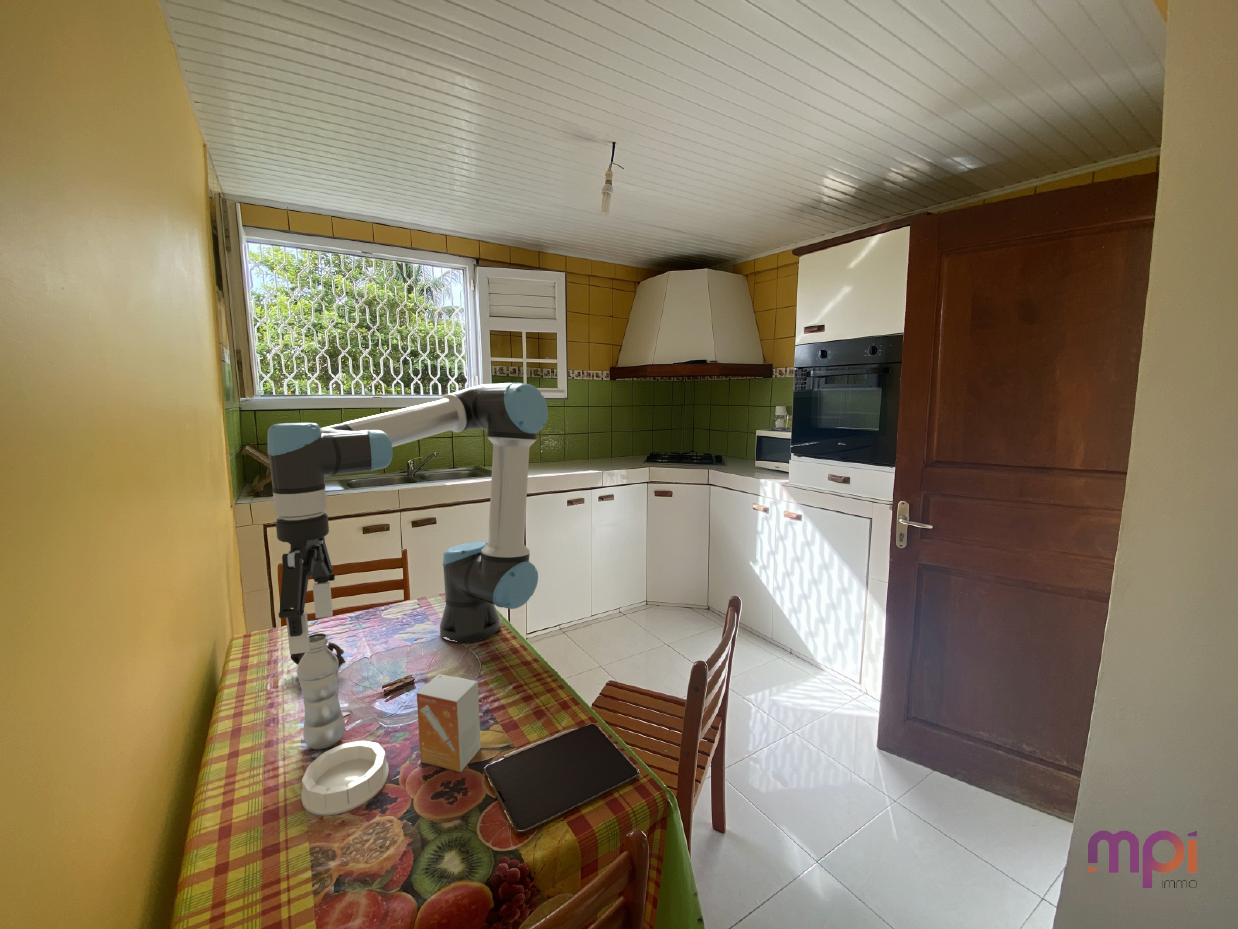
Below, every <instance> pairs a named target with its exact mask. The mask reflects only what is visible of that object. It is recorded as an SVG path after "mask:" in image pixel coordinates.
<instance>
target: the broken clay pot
mask: <svg viewBox="0 0 1238 929" xmlns="http://www.w3.org/2000/svg"><path fill="white" fill-rule="evenodd" d="M328 643H329V646H328V647H327V648H328V649H329V650H331V651H332V652H333V653H334V650H335V652H336V653H334V654H335V655H336V657H337V659H338V662H339V667H338V670H339V669H340V667H341V666H342V665H343V664H345V663H346V660H345V658H344V657H343V654H345V651H344V649H342V648H341V647H340V646H339V645H337V644H336V643H334V642H330V641H328ZM305 653H306V652H305ZM305 653H297V654H290V659H291V661H293V663H294V664H296V665H297V666H298V664H299V662H300V660H301V659H302V657H303V656H304V654H305Z"/></svg>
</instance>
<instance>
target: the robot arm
mask: <svg viewBox="0 0 1238 929" xmlns="http://www.w3.org/2000/svg"><path fill="white" fill-rule="evenodd" d="M547 404H548V403H547V401H546V398H545V397H544V395H543V394H542V392H541V391H540V389H538V388H537V387H536V386H534V385H532V384H530V383H522V382H504V383H503V382H502V383H501V382H500V383H482V384H478V385H475V386H472V387H468V388H464V389H461V390H457V391H455V392H451V393H446V394H444V395H442V397H441V398H440V399H439V400H435V401H431V402H426V403H423V404H418V405H413V406H409V407H405V408H400V409H396V410H392V411H391V410H390V411H388V412H384V413H379V414H375V415H370V416H367V417H362V418H358V419H354V420H349V421H344V422H341V423H336V424H333V425H329V426H324V427H320V425H319V424H318V423H315V422H285V423H274V424H272V425H271V426H270V427H269V428H268V430H267V451H266V452H267V455H268V461H269V462H268V463H269V468H270V469H269V470H270V476H271V477H270V478H271V485H272V486H271V487H272V495H273V496H272V497H270V499H269V501H270V502H271V503H273V504H274V506H273V507H274V513H275V514H274V515H275V516H276V517H278V518H276V520H275V528H276V538H277V540H278V541H279V542H280V543H281V542H282V543H288V544H289V545H290V547H289V548H290V549H289V551H288V553H282V556H281V561H282V572H281V573H282V576H281V590H280V601H279V612H278V618H279V619H286V628H287V638H288V648H289V655H291V654H297V653H305V652H309V651H310V642H309V636H310V632H309V624H308V623H309V622H308V612H305V607H306V600H307V592H308V587H309V586H308V585H309V578H310V577H311V578H312V579H313V582H314V583H313V584H312V591H313V594H312V595H313V602H314V614H315V619H322V618H331V617H333V615H334V614H333V613H334V610H333V602H332V601H333V600H332V591H331V590H332V589H331V581H335V578H336V574H333V573H334V569H333V566H332V562H331V558H330V555H329V551H328V548H327V544H326V540H325V537H326V536H327V535H328V534H329V533H330V526H329V515H328V514H327V513H326V512H327V510H328V502H327V493H326V492H327V490H326V481H325V480H326V479H325V477H332V476H334V477H335V476H338V475H348V474H354V473H355V474H356V473H365V472H371V473H372V472H373V471H376V470H382V469H386V468H387V467H388V466H389V465H390V464H391V462H392V460H393V456H394V454H393V453H394V452H393V451H394V450H393V448H394V447H397V446H401V445H405V444H408V443H412V442H415V441H418V440H421V439H425V438H428V437H432V436H435V435H438V434H442V433H445V432H449V431H451V432H453V433H461V432H464V431H468V430H486V431H487V434H486V436H487V437H486V438H487V439H488V441H490V443H491V444H492V464H491V465H492V466H491V480H490V481H491V483H490V484H491V485H490V501H489V516H488V517H489V518H488V519H489V520H488V536H487V537H488V539H487V542H486V541H472V542H465V543H460V544H457V545H453V546H450V547H448V548H447V549H446V550H445V551H444V552H443V557H442V558H443V559H442V566H443V580H444V581H443V582H444V596H445V597H444V598H445V605H444V610H443V613H442V616H441V620H440V624H439V633H440V637H441V636H442V637H447V638H449V639H450V640H455V641H457V642H459V643H458V644H464V643H465V644H467V643H474V642H478V641H482V640H485V639H488V638H490V637H491V636H493V635H495V634H496V633H497V632H498V631H499V630H500V628H501V627H500V626H501V625H500V616H499V613H498V611H497V608H496V607H498V608H504V609H509V610H516V609H518V608H521V607H522V606H524V605H525V604H526V603H527V602H528V601H529V600H530V598H531V597H532V596H533V595H534V593H535V591H536V589H537V586H538V582H539V572H538V569H537V568H536V566H535V565H534V564H533V563H532V562H530V554H531V553H530V550H529V548H528V547H527V546H526V545H525V532H526V531H525V530H526V512H527V496H528V495H527V493H528V478H529V477H528V475H529V460H530V448H531V446H532V445H533V444H534V443H535V442H537V434H538V432H540V431H541V430H543V429H544V426H545V425H546V424H547V421H548V416H549V415H548V414H549V411H548V410H549V409H548V405H547ZM442 637H441V638H442Z"/></svg>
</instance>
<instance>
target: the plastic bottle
mask: <svg viewBox="0 0 1238 929" xmlns="http://www.w3.org/2000/svg"><path fill="white" fill-rule="evenodd" d="M328 639H329V638H328V635H327V633H323V632H319V633H313V634H311V635H310V634H309V642H310V651H309V652H306V653H305V654H304V656H303V657H302V659H301V660H300V662H299V664H298V665H297V669H296V674H297V678H298V682H299V685H300V688H301V693H302V699H303V705H304V723H303V731H302V732H303V735H302V736H303V738H304V742H305V744H306V745H307V747H309V748H310V749H312V750H323V749H327V748H330V747H332V746H334V745H335V744H337V743H338V742H340V740H341V739H342V737H343V736H344V733H345V729H346V721H345V719H344V718H345V717H344V715H343V712H342V709H341V704H340V700H339V698H340V697H339V691H338V690H339V686H338V685H339V682H338V680H339V669H338V667H339V662H338V659H337V657H336V655H337V654H336V653H334V651H333V652H332V651H331V650H329V649H328V648H327V647H328V646H329V643H328V642H329V641H328ZM335 654H336V655H335ZM339 668H340V667H339Z"/></svg>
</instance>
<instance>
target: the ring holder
mask: <svg viewBox="0 0 1238 929" xmlns="http://www.w3.org/2000/svg"><path fill="white" fill-rule="evenodd" d="M386 757H387V756H386V750H384V748H383V747H382V746H381V745H380V743H378V742H373V741H369V740H365V739H364V740H357V741H352V742H351V741H350V742H345V743H342V744H340V745H338V746H335V747H333V748H331V749H328V750H326V751H324V752H323V753H321V754H320V755H319V756H317V757H316V759H315V760H313V761H312V762H311V763H310V764H308V766H307V767H306V769H305V772H304V774H303V776H302V778H301V783H302V789H301V793H300V794H301V796H300V798H301V804H302V807H303V808H304V810H306V811H307V812H308V813H310V814H313V815H315V816H322V817H326V816H335V815H340V814H344V813H347V812H350V811H352V810H354V809H357V808H358V807H361V806H362V805H364V804H366V803H367V802H369V801H370V800H372V799H373V798H374V797H375V796H377V795H378V793H379V792H381V790H382V789H383V788H384V786H385V785H386V783H387V781H388V778H389V773H390V771H389V770H390V769H389V767H390V766H389V763H388V761H387V759H386Z"/></svg>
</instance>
